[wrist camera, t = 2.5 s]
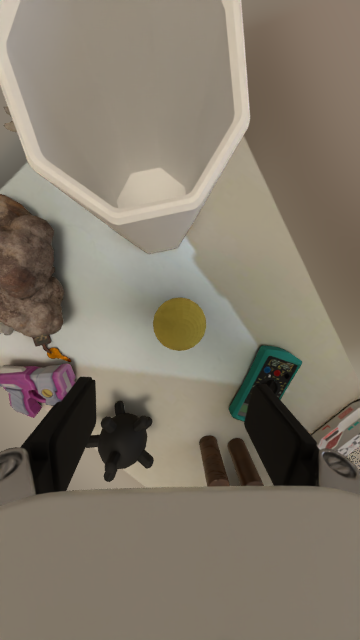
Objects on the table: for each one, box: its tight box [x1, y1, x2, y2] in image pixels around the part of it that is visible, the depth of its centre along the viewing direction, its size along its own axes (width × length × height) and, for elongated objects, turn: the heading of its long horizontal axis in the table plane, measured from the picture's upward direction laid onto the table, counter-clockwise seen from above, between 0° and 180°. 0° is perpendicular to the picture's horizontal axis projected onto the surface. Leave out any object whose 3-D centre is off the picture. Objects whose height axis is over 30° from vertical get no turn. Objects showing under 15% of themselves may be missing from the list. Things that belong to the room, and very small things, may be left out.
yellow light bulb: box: [153, 298, 206, 351], centre depth 25 cm, size 7×7×10 cm
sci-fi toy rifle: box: [311, 401, 360, 457], centre depth 37 cm, size 4×6×30 cm
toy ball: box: [86, 401, 154, 482], centre depth 30 cm, size 11×11×12 cm
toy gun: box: [0, 364, 75, 418], centre depth 30 cm, size 3×11×10 cm
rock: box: [0, 194, 64, 337], centre depth 23 cm, size 18×12×10 cm, turn 27°
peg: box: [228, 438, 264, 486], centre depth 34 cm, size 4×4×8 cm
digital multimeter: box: [229, 345, 302, 421], centre depth 33 cm, size 7×15×3 cm, turn 159°
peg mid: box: [199, 436, 230, 487], centre depth 34 cm, size 4×4×8 cm
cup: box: [0, 0, 250, 254], centre depth 17 cm, size 11×11×18 cm
